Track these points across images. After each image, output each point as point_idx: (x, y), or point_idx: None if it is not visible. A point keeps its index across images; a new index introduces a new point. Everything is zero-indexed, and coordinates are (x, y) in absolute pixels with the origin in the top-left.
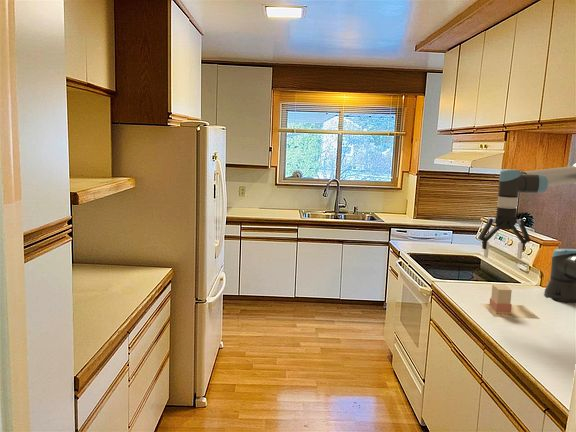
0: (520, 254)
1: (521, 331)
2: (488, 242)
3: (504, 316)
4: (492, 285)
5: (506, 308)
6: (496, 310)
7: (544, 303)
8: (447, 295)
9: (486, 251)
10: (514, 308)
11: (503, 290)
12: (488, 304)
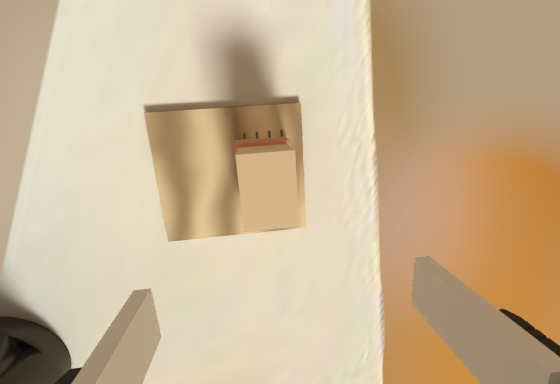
0: (130, 316)
1: None
2: (554, 369)
3: (264, 110)
4: (298, 224)
5: (252, 141)
6: (285, 137)
7: (89, 291)
8: (381, 291)
9: (467, 286)
10: (208, 202)
11: (272, 151)
12: None
